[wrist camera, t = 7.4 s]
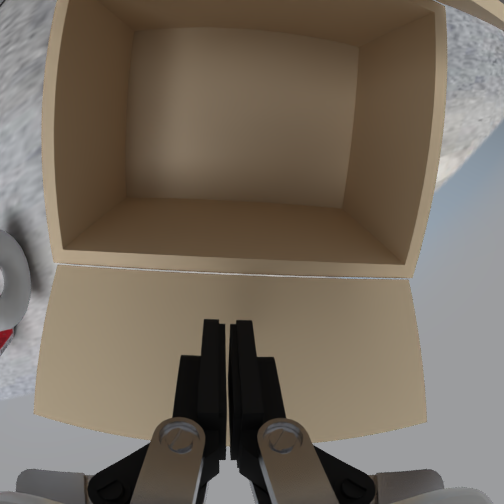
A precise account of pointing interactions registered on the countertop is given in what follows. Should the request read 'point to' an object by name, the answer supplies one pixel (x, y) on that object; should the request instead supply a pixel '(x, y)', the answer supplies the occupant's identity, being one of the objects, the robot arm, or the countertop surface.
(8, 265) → the donut
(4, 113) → the countertop surface
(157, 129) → the carton
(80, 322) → the flap
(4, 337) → the soda can
